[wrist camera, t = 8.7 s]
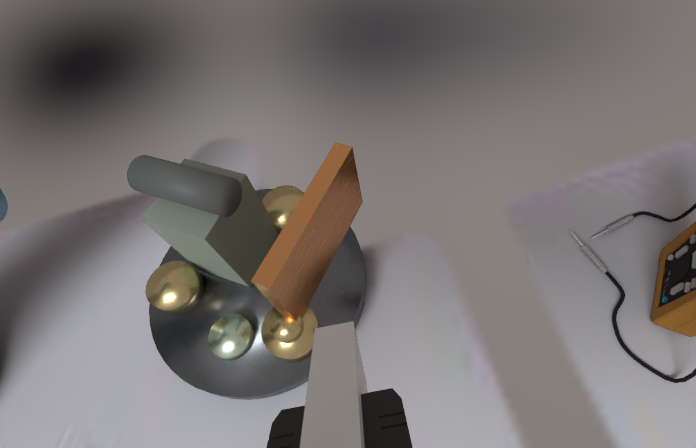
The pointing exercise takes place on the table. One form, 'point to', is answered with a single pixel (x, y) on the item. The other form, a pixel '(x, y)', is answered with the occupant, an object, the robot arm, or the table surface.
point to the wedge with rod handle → (206, 215)
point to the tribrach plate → (242, 316)
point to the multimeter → (665, 285)
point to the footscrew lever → (307, 255)
